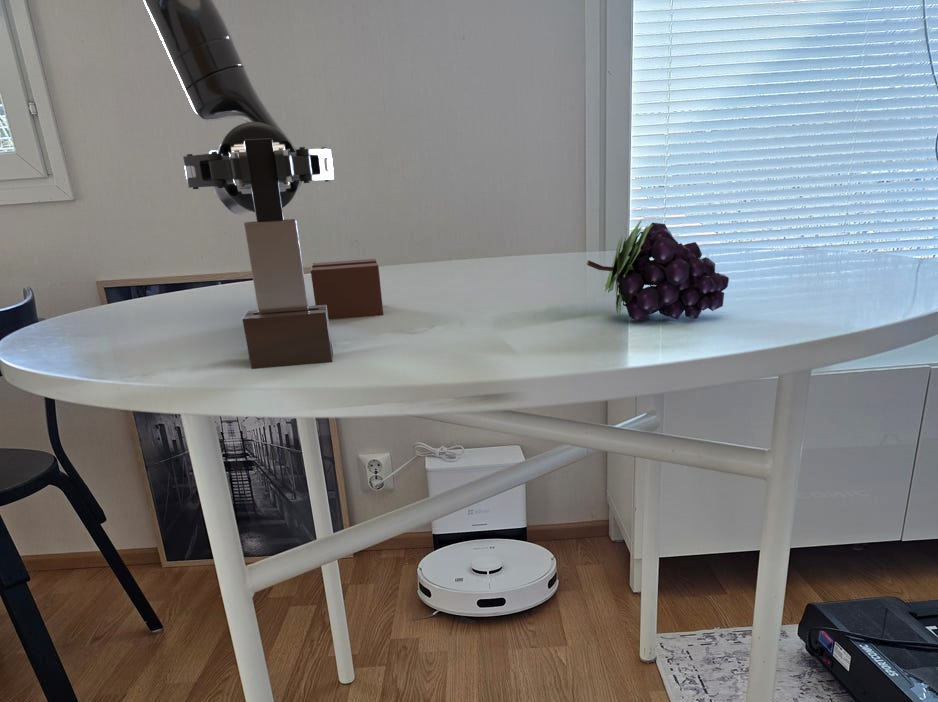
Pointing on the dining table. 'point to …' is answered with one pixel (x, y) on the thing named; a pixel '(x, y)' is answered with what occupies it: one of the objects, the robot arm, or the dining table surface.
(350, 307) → the slotted brown box
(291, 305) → the knife
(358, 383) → the dining table surface
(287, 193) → the robot arm
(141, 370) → the dining table surface
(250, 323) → the knife block
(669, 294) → the fruit
